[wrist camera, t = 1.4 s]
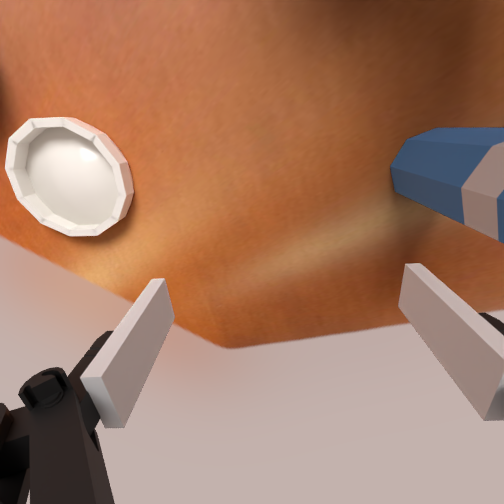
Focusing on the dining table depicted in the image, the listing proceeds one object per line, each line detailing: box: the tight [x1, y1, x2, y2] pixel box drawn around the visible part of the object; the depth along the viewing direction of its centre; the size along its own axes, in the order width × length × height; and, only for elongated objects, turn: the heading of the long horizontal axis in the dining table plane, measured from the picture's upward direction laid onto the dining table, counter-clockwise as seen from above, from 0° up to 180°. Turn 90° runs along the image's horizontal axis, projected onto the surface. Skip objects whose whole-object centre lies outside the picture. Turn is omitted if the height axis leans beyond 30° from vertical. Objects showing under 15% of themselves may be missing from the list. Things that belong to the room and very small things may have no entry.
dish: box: [5, 117, 134, 236], centre depth 36 cm, size 15×15×3 cm
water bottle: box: [390, 128, 504, 243], centre depth 24 cm, size 9×9×25 cm
